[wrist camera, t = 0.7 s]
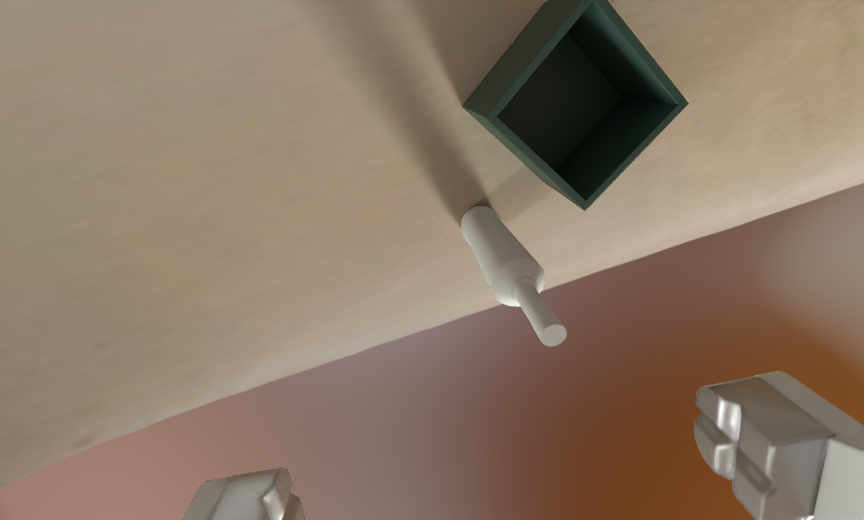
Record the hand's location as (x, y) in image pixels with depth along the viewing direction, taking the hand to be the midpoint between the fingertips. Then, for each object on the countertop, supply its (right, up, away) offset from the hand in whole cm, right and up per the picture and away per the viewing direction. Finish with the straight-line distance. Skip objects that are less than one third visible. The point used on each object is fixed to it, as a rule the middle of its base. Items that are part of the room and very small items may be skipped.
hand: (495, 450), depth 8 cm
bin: (+12, +22, +41) cm, 48 cm away
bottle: (+5, +9, +46) cm, 47 cm away
